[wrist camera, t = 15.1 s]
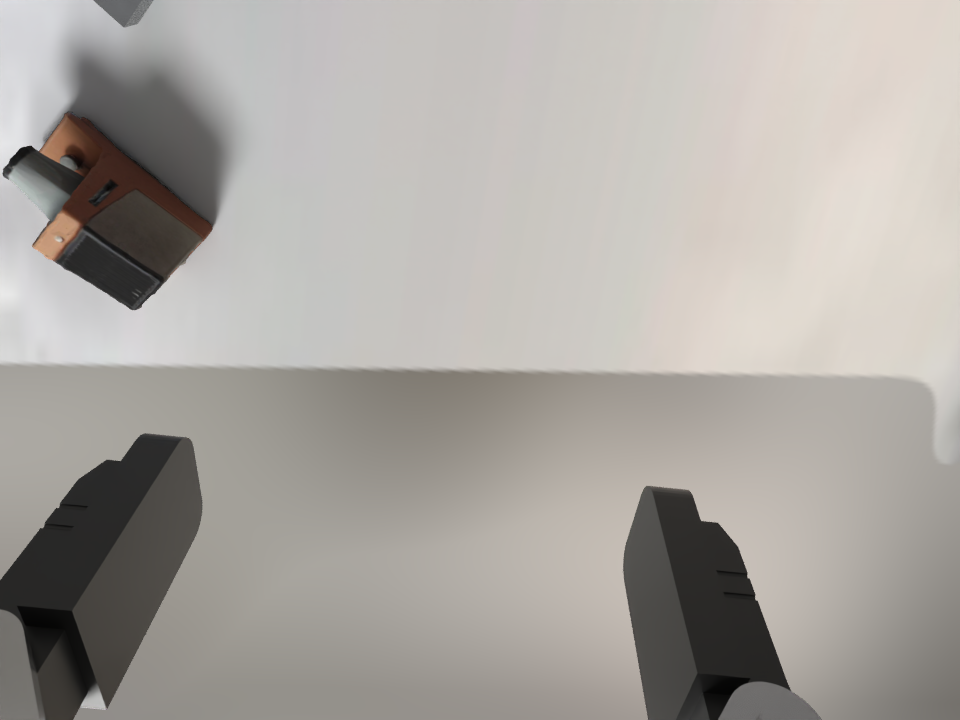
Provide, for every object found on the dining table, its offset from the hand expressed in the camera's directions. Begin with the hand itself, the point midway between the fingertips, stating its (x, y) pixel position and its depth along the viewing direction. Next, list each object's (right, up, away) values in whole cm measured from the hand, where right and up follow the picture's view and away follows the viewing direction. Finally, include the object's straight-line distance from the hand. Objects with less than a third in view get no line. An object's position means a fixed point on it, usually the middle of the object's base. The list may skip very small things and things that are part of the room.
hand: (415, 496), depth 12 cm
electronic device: (-20, +13, +29) cm, 37 cm away
